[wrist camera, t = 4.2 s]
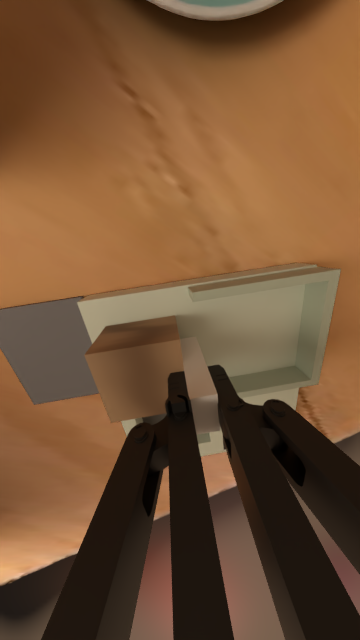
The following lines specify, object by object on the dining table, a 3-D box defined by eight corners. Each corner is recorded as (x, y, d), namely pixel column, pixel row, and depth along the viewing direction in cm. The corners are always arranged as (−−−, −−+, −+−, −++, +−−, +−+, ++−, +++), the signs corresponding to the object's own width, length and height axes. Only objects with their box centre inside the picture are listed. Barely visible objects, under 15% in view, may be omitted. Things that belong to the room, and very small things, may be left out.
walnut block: (123, 381, 17) (111, 422, 13) (105, 326, 15) (84, 355, 11) (183, 371, 18) (190, 409, 13) (175, 315, 15) (179, 339, 11)
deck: (140, 448, 25) (136, 490, 20) (88, 295, 16) (62, 311, 12) (280, 422, 25) (303, 457, 21) (296, 262, 17) (341, 267, 13)
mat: (36, 401, 20) (34, 404, 20) (-17, 311, 16) (-21, 313, 16) (115, 388, 21) (114, 390, 20) (82, 296, 16) (81, 297, 16)
